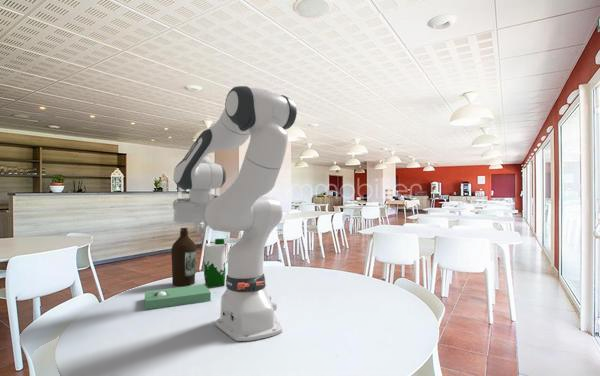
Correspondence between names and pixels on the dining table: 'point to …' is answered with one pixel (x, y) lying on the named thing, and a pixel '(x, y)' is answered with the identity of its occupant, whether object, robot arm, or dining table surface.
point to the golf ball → (161, 293)
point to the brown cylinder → (183, 260)
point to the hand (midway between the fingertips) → (201, 233)
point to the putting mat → (177, 296)
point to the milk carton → (214, 263)
